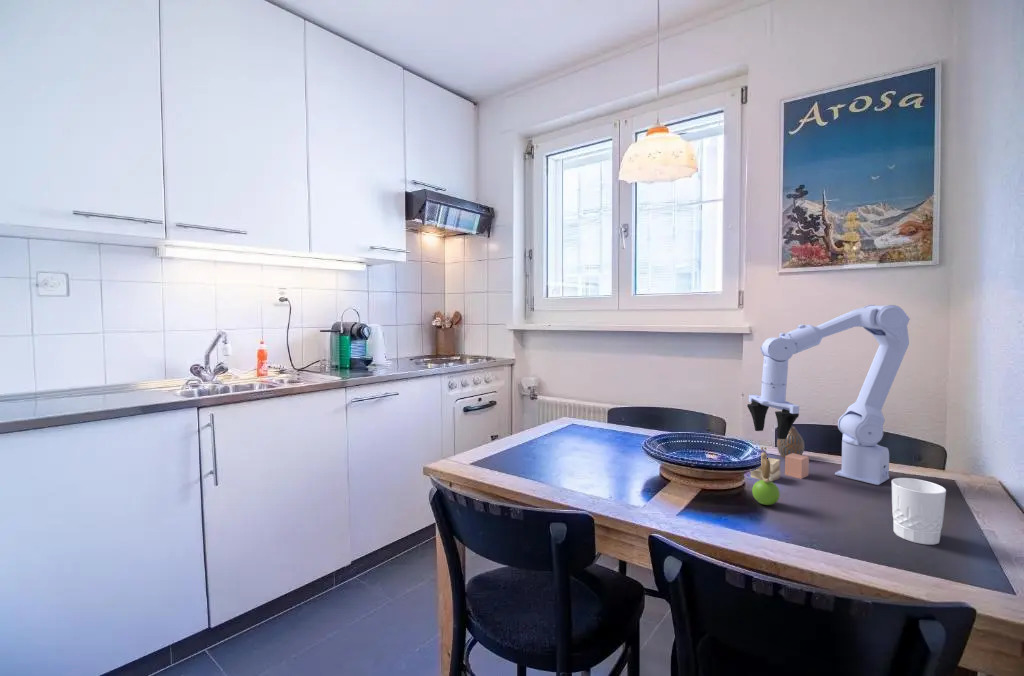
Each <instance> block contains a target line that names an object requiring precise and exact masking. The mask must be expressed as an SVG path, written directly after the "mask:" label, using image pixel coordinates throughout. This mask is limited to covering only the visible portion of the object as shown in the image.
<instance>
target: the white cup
mask: <svg viewBox="0 0 1024 676" xmlns="http://www.w3.org/2000/svg"><path fill="white" fill-rule="evenodd" d="M946 495H947V489H946V488H945V487H943V486H942V485H939V484H938V483H935V482H931V481H927V480H923V479H918V478H911V477H910V478H909V477H896V478H893V479H891V507H892V509H891V510H892V518H893V520H892V522H893V523H892V524H893V527H892V528H893V532H894V534H895V535H896V536H897V537H900V538H901V539H903V540H907V541H909V542H912V543H915V544H921V545H931V546H932V545H933V546H934V545H937V544H940V540H941V534H942V533H941V532H942V531H941V530H942V528H943V522H944V515H945V505H946Z"/></svg>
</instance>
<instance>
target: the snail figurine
mask: <svg viewBox="0 0 1024 676" xmlns="http://www.w3.org/2000/svg"><path fill="white" fill-rule="evenodd" d="M760 449H761V450H764V452H763V451H762V452H761V453H760V456H761V471H762V478H763V480H760V479H758V480H756V481H755V483H754V484H753V486H752V488H751V490H752V491H751V492H752V496H753V498H754V499H755V500H756V501H757V502H758V503H759V504H761V505H765V506H771V505H774V504H776V503H777V502H778V500H779V499H780V496H781V495H780V490H779V487H778V485H776V483H774V481H772V482H771V481H770V479H769V477H770V461H769V460H768V459H767V457H768V454H767V453H766V450H767V447H763V446H761V447H760Z"/></svg>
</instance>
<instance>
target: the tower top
mask: <svg viewBox="0 0 1024 676" xmlns="http://www.w3.org/2000/svg"><path fill="white" fill-rule="evenodd" d="M768 460H769V461H770V474H774V473H775V472H777V471H778V470H780V471H781V468H780V464H781V459H779V458H778V459H777V458H773V457H768ZM755 471H760V472H762V471H761V466H760V467H759V468H758V469H756V470H755Z"/></svg>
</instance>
